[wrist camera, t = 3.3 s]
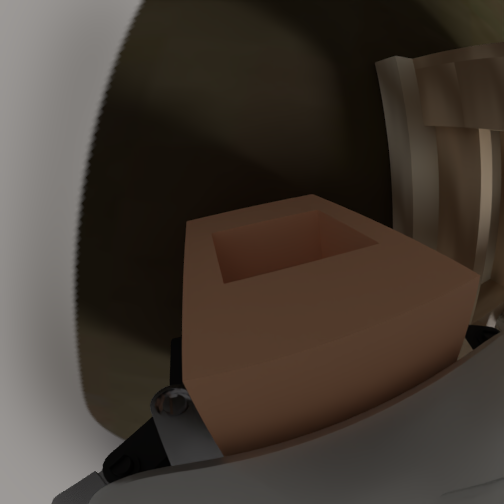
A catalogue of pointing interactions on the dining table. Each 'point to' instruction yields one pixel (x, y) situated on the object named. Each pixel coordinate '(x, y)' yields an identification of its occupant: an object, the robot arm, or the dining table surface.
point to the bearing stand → (451, 159)
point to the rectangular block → (311, 318)
